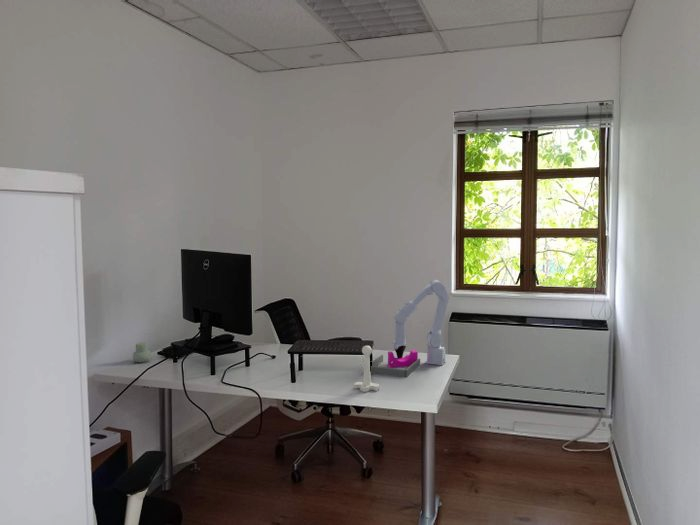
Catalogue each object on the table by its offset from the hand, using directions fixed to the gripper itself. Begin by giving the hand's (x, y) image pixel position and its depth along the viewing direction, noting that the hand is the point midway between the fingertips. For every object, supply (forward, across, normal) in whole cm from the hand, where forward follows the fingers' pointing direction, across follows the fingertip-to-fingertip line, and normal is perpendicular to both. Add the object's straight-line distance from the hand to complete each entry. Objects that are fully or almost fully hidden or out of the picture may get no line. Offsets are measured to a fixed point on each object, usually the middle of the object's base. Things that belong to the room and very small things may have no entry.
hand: (399, 359), depth 285 cm
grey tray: (+2, +11, +1) cm, 11 cm away
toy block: (+2, +4, +3) cm, 5 cm away
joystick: (+2, +48, +1) cm, 48 cm away
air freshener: (+5, +51, -132) cm, 142 cm away
